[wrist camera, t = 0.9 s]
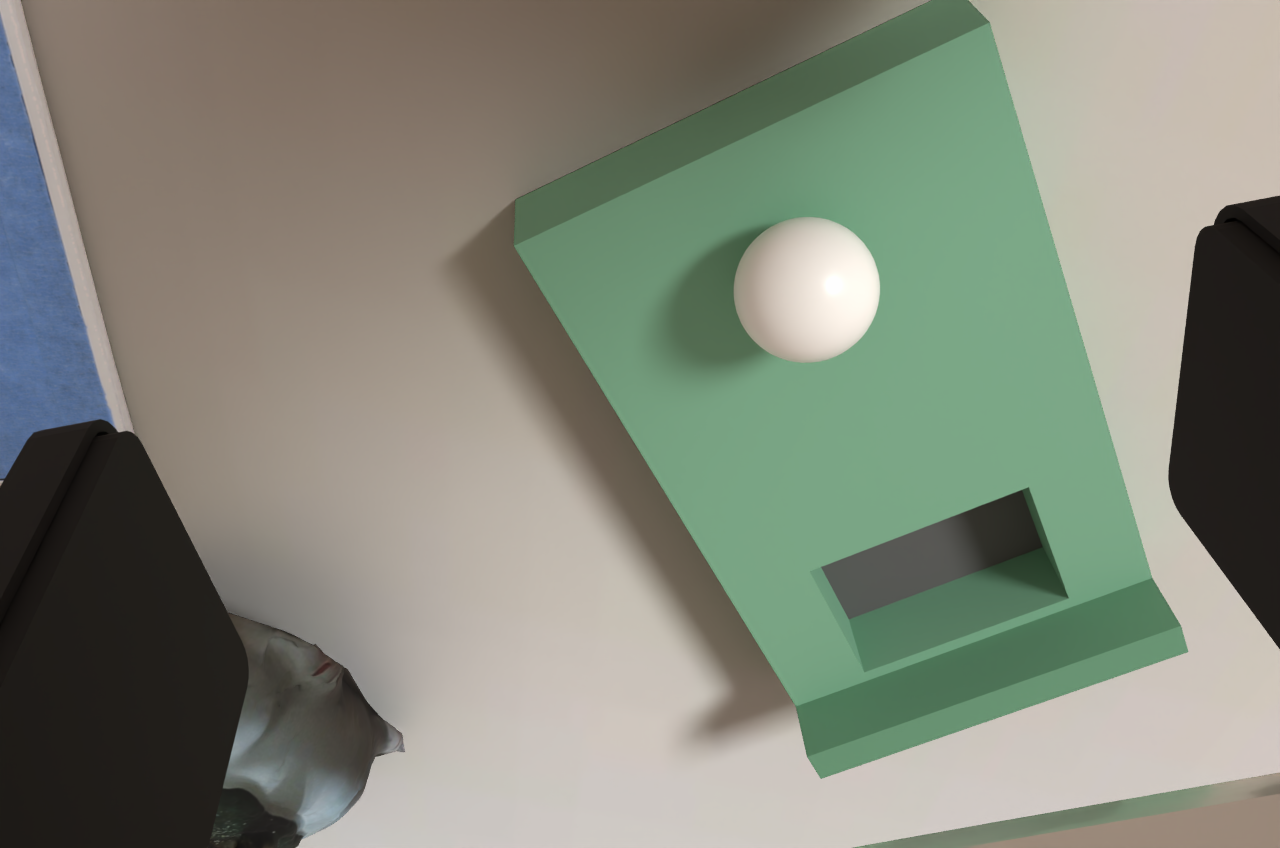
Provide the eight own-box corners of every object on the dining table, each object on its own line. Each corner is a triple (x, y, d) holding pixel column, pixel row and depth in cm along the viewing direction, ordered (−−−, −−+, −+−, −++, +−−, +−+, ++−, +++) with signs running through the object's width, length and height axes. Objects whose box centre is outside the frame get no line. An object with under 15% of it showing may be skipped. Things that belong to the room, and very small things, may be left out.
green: (956, -12, 33) (1019, 53, 29) (1127, 549, 46) (1188, 651, 42) (515, 199, 36) (512, 288, 32) (796, 670, 49) (821, 778, 45)
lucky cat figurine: (428, 774, 52) (261, 1120, 44) (190, 686, 54) (-9, 999, 46) (361, 610, 40) (114, 1048, 32) (59, 507, 42) (-239, 888, 34)
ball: (834, 168, 33) (867, 235, 30) (880, 281, 35) (914, 354, 32) (703, 229, 34) (720, 300, 30) (755, 335, 36) (777, 412, 33)
